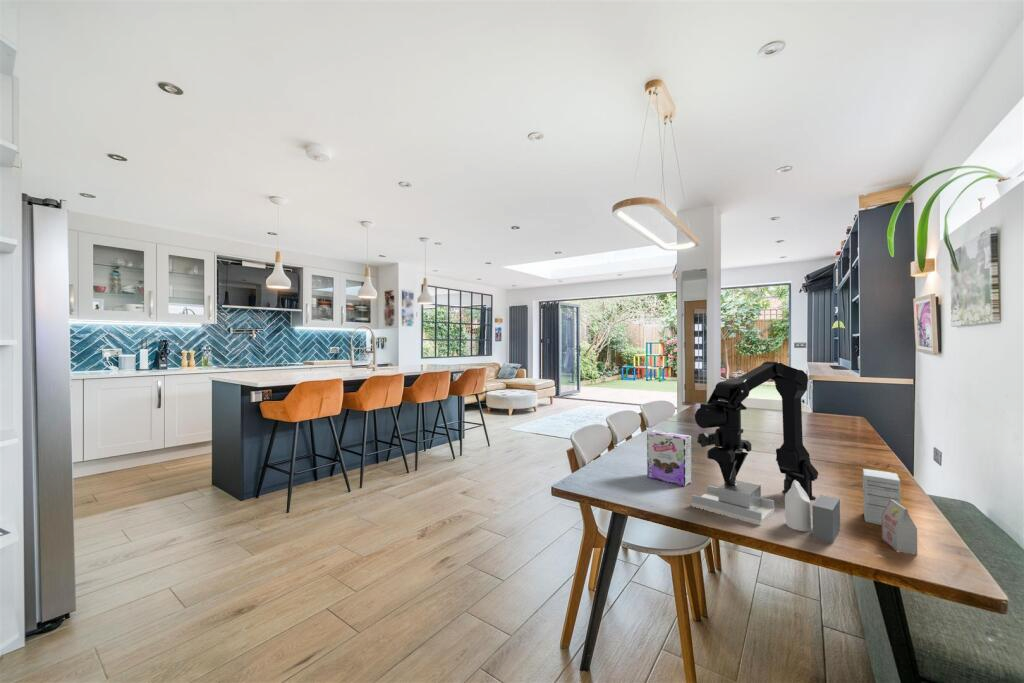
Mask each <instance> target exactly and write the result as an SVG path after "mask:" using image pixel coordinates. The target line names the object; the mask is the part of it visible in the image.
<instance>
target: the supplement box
mask: <svg viewBox="0 0 1024 683" xmlns="http://www.w3.org/2000/svg"><path fill="white" fill-rule="evenodd" d="M901 493H902V492H901V479H900V477H899V475H898V473H895V472H891V471H883V470H875V469H868V468H862V499H863V500H862V502H863V508H862V509H863V515H864V516H863V517H864V522H866V523H871V524H875V525H881V526H882V513H883V512H884V510H885V508H886V507H887V505H888V503H889V499H891V500H894V501H895V502H897V503H898V504H900V505H901V503H902V501H901V500H902V499H901V498H902V496H901ZM901 506H902V505H901Z"/></svg>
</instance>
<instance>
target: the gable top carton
mask: <svg viewBox="0 0 1024 683" xmlns="http://www.w3.org/2000/svg"><path fill="white" fill-rule="evenodd" d="M881 540H882V541H884V542H885V541H886V542H887V543H888V544H889V545H890V546H889V545H888V544H887V543H886V542H885V543H886V544H887V545H888V546H889V547H891V546H892V547H893V548H894V549H895V550H896V551H899V552H898V553H900V552H906V553H905V554H908V553H914V554H913V555H916V554H917V555H918V527H917V526H916V525H915V523H914V521H913V520H912V518H911V516H910V514H909V512H908V509H907V508H905V507H904V506H903V505H900V504H898V503H897V502H895V501H894V500H891V499H889V503H888V505H887V507H886V508H885V510H884V512H883V513H882V525H881ZM892 547H891V548H892ZM893 548H892V549H893ZM894 549H893V550H894ZM895 550H894V551H895ZM896 551H895V552H896Z"/></svg>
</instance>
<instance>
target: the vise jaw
mask: <svg viewBox="0 0 1024 683" xmlns="http://www.w3.org/2000/svg"><path fill="white" fill-rule="evenodd" d="M723 481H724V480H723ZM717 487H718V499H719V501H720V502H724V503H727V504H731V505H735V506H739V507H743V508H747V509H751V510H756V509H757V508H758V507H759V506H760V505H761V498H762V494H761V493H762V492H761V491H762V490H761V489H762V486H761V485H759V484H755V483H751V482H750V483H749V482H745V481H741V480H737V476H736V467H734V470H733V472H732V475H731V478H730V480H729V482H725V481H724V483H723V484H721V485H719V486H717Z"/></svg>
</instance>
